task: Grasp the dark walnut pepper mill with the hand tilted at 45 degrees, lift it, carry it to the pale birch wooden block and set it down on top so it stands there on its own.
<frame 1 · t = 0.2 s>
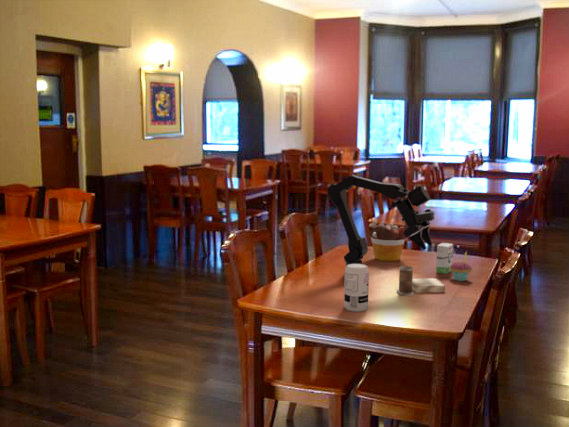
hand: (428, 247, 250), 15 cm above the table, tool tilted 35°, fingers open, 9 cm apart
supplement can: (355, 309, 218), on the table
ink box: (444, 271, 272), on the table
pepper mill: (405, 293, 237), on the table
birch block: (426, 289, 245), on the table
bucket of meat: (388, 259, 296), on the table
cupcake: (460, 279, 259), on the table
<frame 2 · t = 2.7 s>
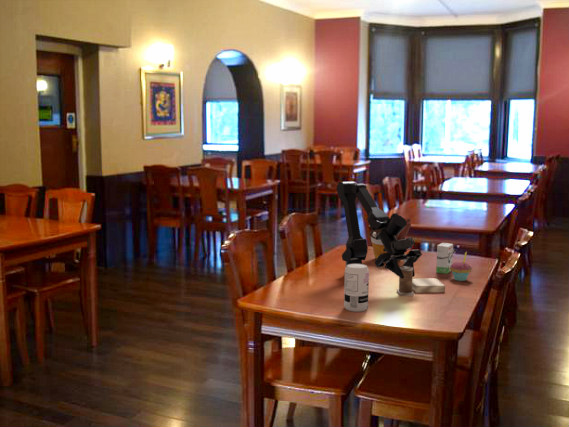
hand: (408, 277, 235), 7 cm above the table, tool tilted 45°, fingers closed on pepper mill, 5 cm apart
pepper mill: (405, 293, 237), on the table, touching gripper
everything else where it was.
when the fingers open (10 cm above the table, at t = 7.7 s): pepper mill stays where it is, resting on birch block.
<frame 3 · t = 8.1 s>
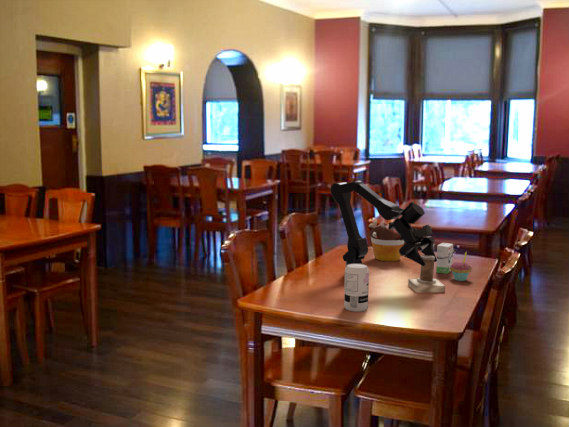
hand: (430, 263, 242), 10 cm above the table, tool tilted 45°, fingers open, 9 cm apart
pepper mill: (426, 281, 244), point 3 cm above the table, touching birch block
birch block: (426, 289, 245), on the table, touching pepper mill
everything else where it was.
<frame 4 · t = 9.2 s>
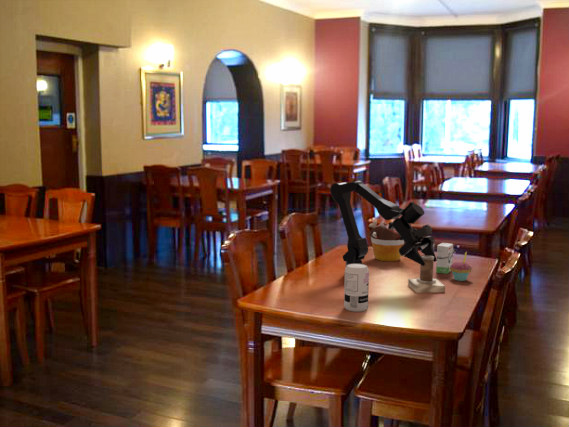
hand: (430, 263, 242), 10 cm above the table, tool tilted 45°, fingers open, 9 cm apart
nothing on the table moved.
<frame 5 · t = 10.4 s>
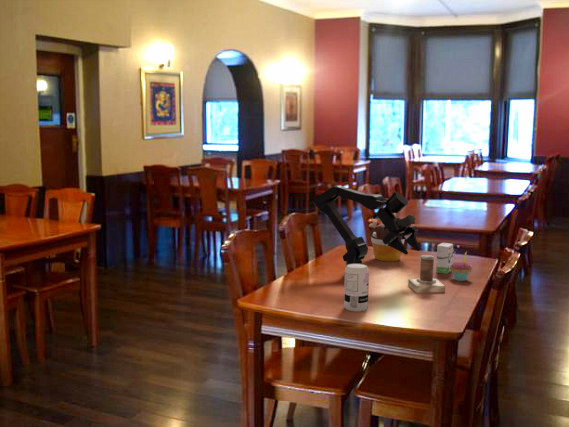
hand: (413, 252, 247), 13 cm above the table, tool tilted 45°, fingers open, 9 cm apart
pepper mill: (426, 281, 245), point 2 cm above the table
birch block: (426, 289, 245), on the table
everything else where it was.
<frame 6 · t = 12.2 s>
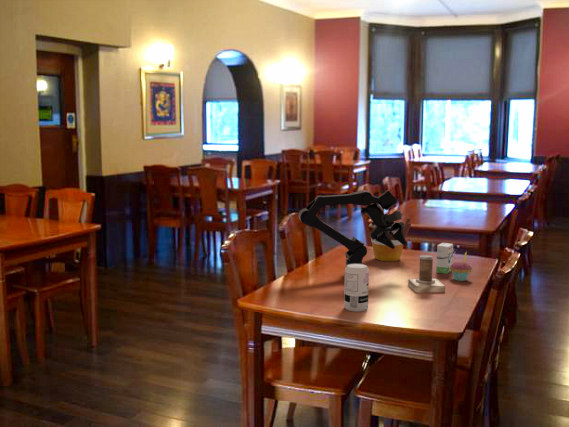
hand: (400, 246, 256), 14 cm above the table, tool tilted 45°, fingers open, 9 cm apart
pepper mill: (425, 282, 244), point 2 cm above the table, touching birch block
birch block: (426, 289, 245), on the table, touching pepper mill
everything else where it was.
at the end: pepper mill inside the target area on the birch block (0.3 cm from its centre), point 3.1 cm above the birch block's base; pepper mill tilted 1°; the gripper is holding nothing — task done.
